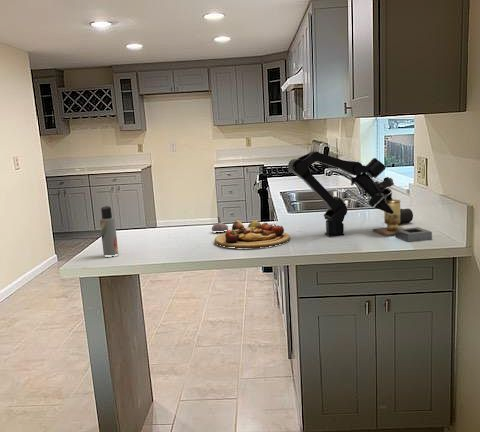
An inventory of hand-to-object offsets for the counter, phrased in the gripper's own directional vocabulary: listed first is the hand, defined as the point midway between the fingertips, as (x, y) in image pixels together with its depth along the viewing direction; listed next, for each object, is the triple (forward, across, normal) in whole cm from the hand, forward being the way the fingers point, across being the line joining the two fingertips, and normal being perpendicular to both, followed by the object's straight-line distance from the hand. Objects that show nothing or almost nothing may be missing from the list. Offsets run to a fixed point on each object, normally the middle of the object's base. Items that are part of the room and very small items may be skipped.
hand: (395, 211), depth 204 cm
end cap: (+5, +19, +8) cm, 21 cm away
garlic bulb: (-48, -14, +61) cm, 79 cm away
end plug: (+5, 0, +6) cm, 8 cm away
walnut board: (+6, 0, +7) cm, 9 cm away
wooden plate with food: (-31, -27, +45) cm, 61 cm away
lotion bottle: (-63, -64, +76) cm, 118 cm away
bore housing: (+12, -9, 0) cm, 15 cm away
